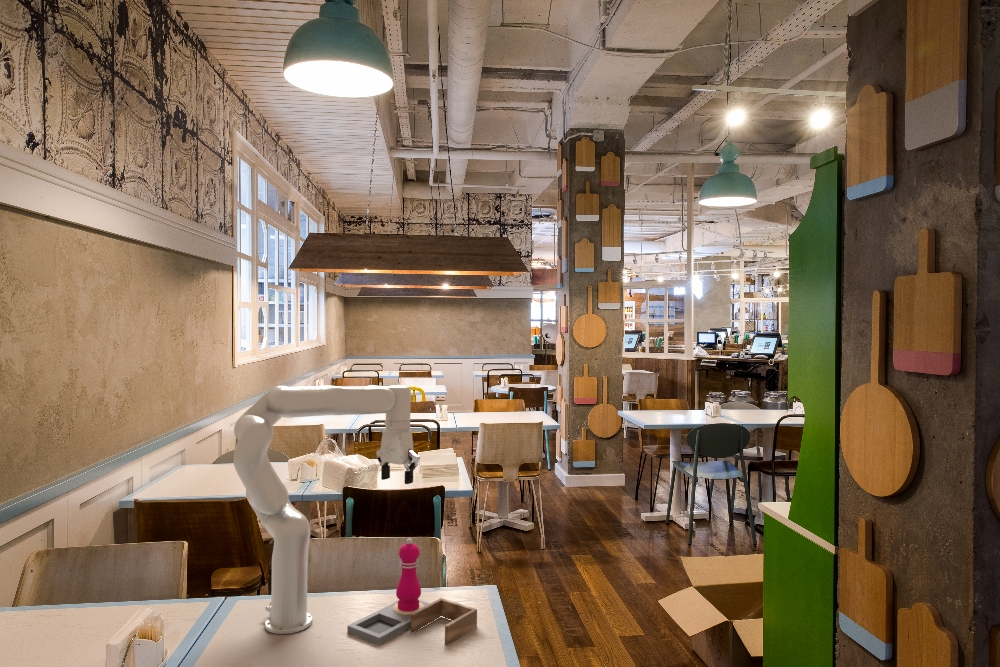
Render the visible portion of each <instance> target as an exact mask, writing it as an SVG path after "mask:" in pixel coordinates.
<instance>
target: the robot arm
mask: <svg viewBox="0 0 1000 667" xmlns="http://www.w3.org/2000/svg"><path fill="white" fill-rule="evenodd" d="M411 394H412V390H411V388H410V387H409V386H408V385H405V384H404V385H403V384H402V385H401V384H399V385H398V384H397V385H396V384H393V385H389V386H387V385H386V386H385V385H375V384H370V385H366V386H364V387H362V388H353V387H344V386H343V387H342V386H337V385H317V386H286V385H277V386H274V387H272V388H271V389H269V390H268V391H267V392H266V393H264V395H262V396H261V397H260V398H259V399H258V400H257V401H255V403H253V405H251V407H249V408H248V409H247V410H246V411H245V412H243V413H242V414H241V416H240V417H239V418H238V419H237V420H236V422H235V424H234V427H233V433H234V436H235V438H236V439H237V443H236V445H235V448H234V452H233V467H234V469H235V471H236V473H237V475H238V477H239V479H240V481H241V483H242V484H243V486H244V488H245V497H246V499H247V501H248V503H249V505H250V507H251V508H252V510H253V512H254V513H255V514H256V516H257V518H258V519H259V521H260V522H261V524H262V525H263V527H264V529H265V530H266V532H267V533H268V534H269V535H270V536H271V537H272V538H273V548H272V549H273V550H272V556H271V594H270V596H271V598H270V600H271V601H270V602H269V605H267V606H265V608H264V610H265V611H266V612H268V613H269V617H268V618H267V619H266V620H265V623H264V628H265V630H266V631H268V632H270V633H272V634H275V635H276V634H277V635H288V634H294V633H298V632H301V631H304V630H305V629H307V628H309V627H310V626H311V625H312V624H313V616H312V614H311V613H310V612H308V570H309V569H308V560H309V559H308V558H309V557H308V556H309V555H308V554H309V545H310V539H311V525H310V522H309V520H308V518H307V516H305V515H304V514H303V513H302V512H300V510H298V509H296V508H295V506H294V505H293V504H292V502H291V501H290V497H289V496H290V495H289V491H288V488H287V487H286V485H285V484H284V483H283V481H282V479H281V478H280V477H279V476H278V474H277V472H276V471H275V468H274V467H273V465H272V464H271V461H270V460H269V457H268V450H269V447H270V445H271V443H272V441H273V440H274V434H275V431H274V425H275V424H277V422H278V421H280V419H281V418H291V419H292V418H305V417H307V418H308V417H320V416H321V417H322V416H347V415H348V416H349V415H353V416H354V415H355V416H357V415H358V416H359V415H375V414H385V420H384V422H383V423H384V425H385V428H384V429H383V431H382V436H381V442H380V448H379V449H378V450H375V454H376V457H377V461H378V462H379V466H380V467H381V472H380V473H381V474H380V475H381V476H380V477H381V480H382V481H384V480H388V479H390V478H391V465H390V464H394V465H403V467H404V469H405V471H404V484H405V485H410V484H413V483H414V470H416V468H417V467H418V465H419V462H420V460H421V456H419V455H418V454H417V453H416V452H414V440H413V432H412V430H411V406H412V405H411V404H412V402H411V400H412V399H411V398H412V397H411Z"/></svg>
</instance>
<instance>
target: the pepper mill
mask: <svg viewBox="0 0 1000 667" xmlns="http://www.w3.org/2000/svg"><path fill="white" fill-rule="evenodd" d="M420 554H421V552H420V548H419V546H418V545H417V544H415V543H414V542H413V539H412V538H407V539H406V543H404V544H402V545H401V546H400V547H399V550H398V556H399V558H400V559H401V560H400V562H399V563H400V567H401V575H400V579H399V581H398V583H397V587H396V590H395V592H396V593H395V594H396V597H397V599H398V600H397V601H398V609H399V610H401V611H405V612H410V611H415V610H417V609H418V608H419V600H420V599H419V598H420V597H421V595H422V588H421V583H420V582H419V578H418V574H417V567H418V565H419V564H418V561H419V560H418V559H419V557H420Z"/></svg>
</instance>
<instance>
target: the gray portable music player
mask: <svg viewBox="0 0 1000 667" xmlns="http://www.w3.org/2000/svg"><path fill="white" fill-rule="evenodd" d="M418 600H419V608H418V609H417V610H419V609H421V608H423V607H425V606H427V605H429V604H430V603H429V602H425V601H423V600H420V599H418ZM417 610H415V611H417ZM415 611H410V612H405V611H401V610H399V609H398V600H397V601H395V602H394V603H391V604H389V605H387V606H385V607H383V608H381V609H378V610H376V611H375V612H373V613H370V614H369V615H367V616H365V617H362V618H361V619H358V620H356V621H354V622H352V623H350V624H348V625H347V627H346V628H347V634H349V635H351V636H354V637H356V636H357V638H359V639H362V640H364V641H367V642H369V643H372V644H375V645H377V646H380V645H383V644H385V643H386V642H388V641H390V640H392V639H394V638H395V637H397V636H399V635H401V634H403V633H405V632H407V631H408V630H410V629H411V613H413V612H415ZM409 628H410V629H409ZM407 629H408V630H407ZM406 630H407V631H406ZM404 631H405V632H404ZM402 632H403V633H402Z"/></svg>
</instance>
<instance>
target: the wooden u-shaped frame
mask: <svg viewBox="0 0 1000 667" xmlns="http://www.w3.org/2000/svg"><path fill="white" fill-rule="evenodd" d="M440 616H443V617H445V618H448V619H451V620H453V621H451V620H450V622H449V623H446V624H445V625H444V645H445V646H449V645H450V644H453V643H454V642H455V641H457V640H458V639H460V638H462V637H463V635H464V636H465V635H467V634H468V633H470V632H472V631H473V630H475V629H477V627H478V609H477V608H475V607H471V606H467V605H465V604H461V603H458V602H455V601H452V600H448V599H445V598H443V597H441V598H438V599H437V600H434V601H432V602H431V603H429V605H427V606H425V607H423V608H421V609H419V610H417V611H415V612H413V613H411V628H410V633H412V632H414V633H416V632H418V631H419V630H418V629H420V628H421V627H423V626H425V625H427V624H428V623H430V622H432V621H434V620H435V619H437V618H439V617H440ZM445 618H444V619H445ZM439 619H440V618H439ZM448 619H447V620H448ZM437 620H438V619H437ZM434 622H435V621H434ZM432 623H433V622H432ZM430 624H431V623H430ZM428 625H429V624H428ZM428 625H427V626H428ZM425 627H426V626H425ZM423 628H424V627H423ZM421 629H422V628H421ZM421 629H420V630H421ZM417 630H418V631H417ZM415 631H416V632H415Z"/></svg>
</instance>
